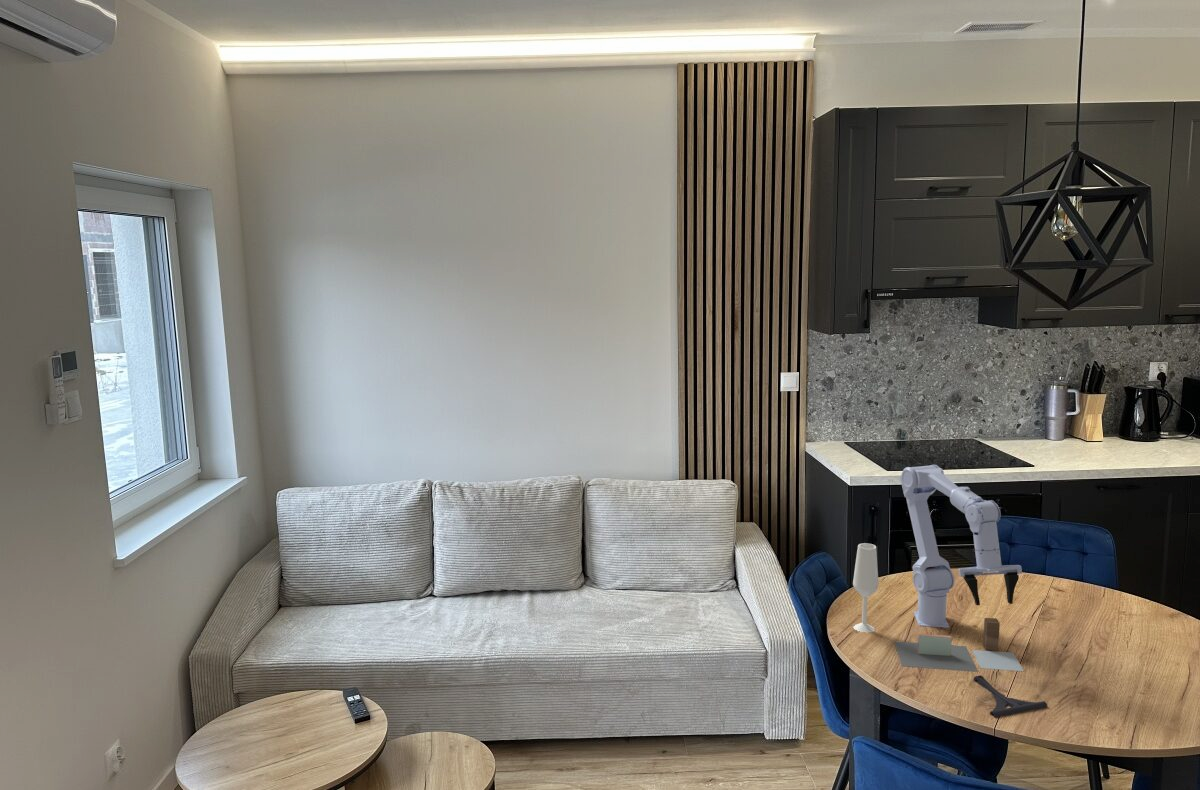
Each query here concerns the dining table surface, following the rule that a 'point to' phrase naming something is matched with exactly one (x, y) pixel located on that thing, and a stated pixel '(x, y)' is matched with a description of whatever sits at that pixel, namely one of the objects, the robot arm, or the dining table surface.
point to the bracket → (1008, 701)
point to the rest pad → (997, 660)
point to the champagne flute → (865, 579)
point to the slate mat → (935, 658)
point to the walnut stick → (991, 634)
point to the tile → (934, 644)
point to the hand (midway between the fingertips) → (993, 604)
